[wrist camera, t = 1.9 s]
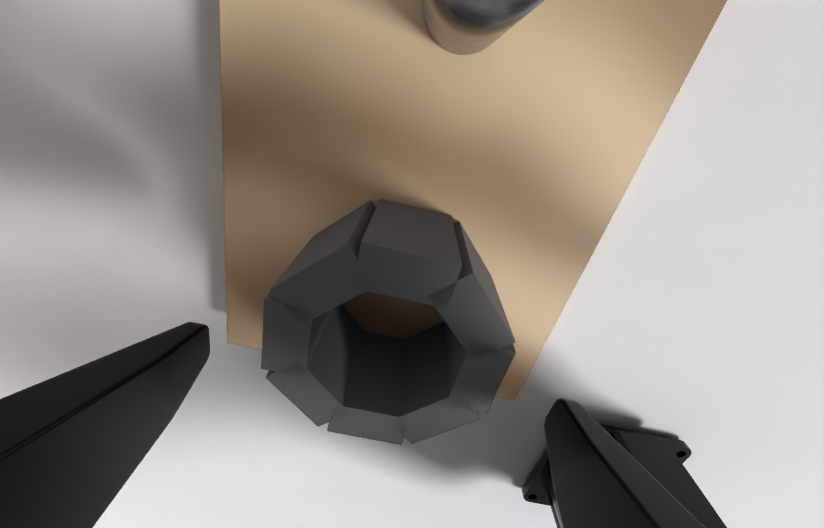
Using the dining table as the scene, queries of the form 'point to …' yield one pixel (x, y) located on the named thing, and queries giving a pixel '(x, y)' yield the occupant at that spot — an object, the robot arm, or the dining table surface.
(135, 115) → the dining table surface
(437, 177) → the hook board
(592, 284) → the dining table surface
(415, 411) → the ring
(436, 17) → the dark grey cylinder
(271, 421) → the dining table surface
